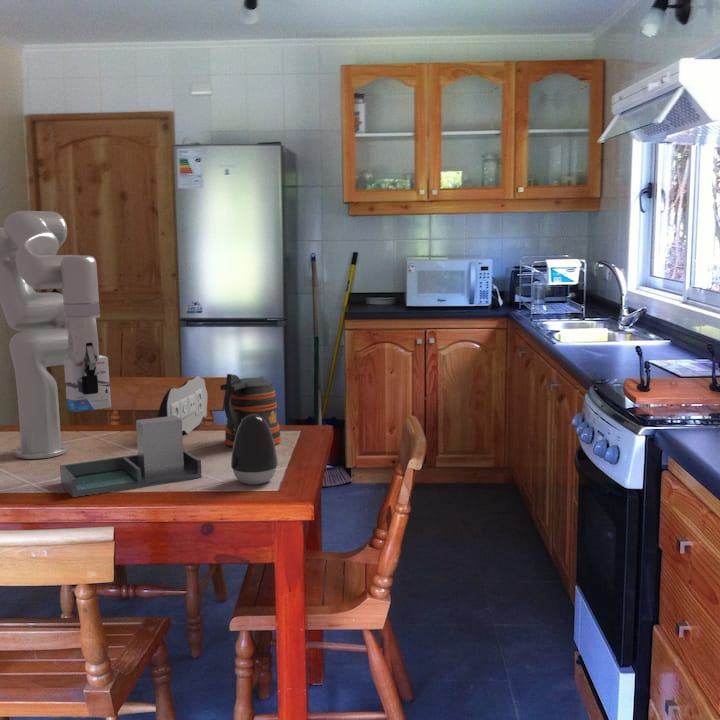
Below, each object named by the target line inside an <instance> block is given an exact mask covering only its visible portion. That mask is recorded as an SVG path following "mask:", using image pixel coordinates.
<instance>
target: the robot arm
mask: <svg viewBox="0 0 720 720" xmlns="http://www.w3.org/2000/svg"><path fill="white" fill-rule="evenodd" d="M67 237H68V226H67V223H66V220H65V218H64V217H63V216H62V215H61V214H59V213H58V212H56V211H47V210H46V211H45V210H19V211H15V212H12V213H10V214H9V215H8V216H7V217H6V218H5V219H4V223H3V227H0V305H1V308H2V311H3V315H4V317H5V320H6V323H7V324H8V326H9V327H10V328H11V329H12V330H15V331H19V332H17V333H15V334H14V335H13V336H12V337H11V339H10V340H9V352H10V353H9V354H10V356H11V357H10V358H11V360H12V364H13V369H14V374H15V375H14V376H15V383H16V384H15V385H16V392H17V405H18V406H17V407H18V409H17V410H18V419H19V433H20V434H19V436H20V446H21V447H19V448H17V449H16V450H14V456H15V457H16V458H18V459H26V460H37V459H38V460H39V459H48V458H54V457H57V456H62V455H64V454H66V453H67V452H68V451H69V449H68V447H69V446H68V445H67V444H66V443H62V437H61V436H62V435H61V420H60V418H61V417H60V410H59V409H60V407H59V393H58V392H59V391H58V384H57V381H56V379H55V377H53V375H52V374H51V373H50V372H49V371H48V370H47V368H48V367H53V366H64V359H66V358H72V359H74V360H75V363H77V364H79V363H80V361H82V370H83V377H82V387H83V394H85V395H86V394H96V393H98V380H97V370H96V362H97V361H98V360H99V355H100V346H99V337H98V334H99V333H98V329H97V328H98V326H97V319H98V318H101V315H100V314H101V312H100V297H99V294H100V293H99V284H98V283H99V282H98V267H97V266H98V265H97V261H96V259H95V257H94V256H91V255H84V254H83V255H82V254H81V255H79V254H65V255H64V254H59V255H58V254H57V253H58V251H59V249H60V248H61V247H62V245H64V242H65V241H66V239H67ZM12 261H14V262H15V264H14V263H12ZM34 289H35V290H52V289H53V290H54V289H55V290H56V289H62V290H61V291H62V293H59V292H50V291H49V292H37V291H35V290H34ZM95 357H96V358H97V359H95ZM84 360H88V362H84ZM86 366H87V367H86Z"/></svg>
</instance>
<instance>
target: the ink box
mask: <svg viewBox="0 0 720 720" xmlns="http://www.w3.org/2000/svg"><path fill="white" fill-rule="evenodd" d="M95 359H97V358H96V357H95ZM84 362H88V360H84ZM63 367H64V382H65V398H66V399H65V400H66V409H67V410H68V411H71V412H74V413H79V412H87V411H95V410H101V409H103V410H104V409H108V408H112V402H111V385H110V374H109V373H110V371H109V370H110V369H109V357H108V356H105V355H100V354H99V360H98V361H97V362H96V370H97V380H98V393H96V394H86V395H85V394H83V387H82V377H83V370H82V361H80V363H79V364H77V363H75V360H74V359H72V358H66V359H64V365H63ZM86 367H87V366H86Z"/></svg>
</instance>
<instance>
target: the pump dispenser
mask: <svg viewBox="0 0 720 720" xmlns="http://www.w3.org/2000/svg"><path fill="white" fill-rule="evenodd" d="M278 461H279V460H278V454H277V449H276V445H275V444H274V441H273V437H272V434H271V431H270V429H269V427H268V425H267V423H266V421H265V420H264V419H263V418H262V417H261V416H259V415H258V414H257V413H255V414H250V415H248V416H246V417H245V418H244V419H243V420H242V421H241V423H240V425H239V427H238V430H237V433H236V436H235V440H234V445H233V447H232V452H231V461H230V467H231V469H232V470H233V475H234V476H235V478H236V479H237V480H238V481H239V482H240V483H243V484H245V485H250V486H257V485H264V484H265V483H267V482H269V481H270V480H271V479H272V478H273V477H274V475H275V473H276V471H277V467H278V464H279V462H278Z"/></svg>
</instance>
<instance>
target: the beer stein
mask: <svg viewBox="0 0 720 720" xmlns="http://www.w3.org/2000/svg"><path fill="white" fill-rule="evenodd" d="M219 387H220V390H221V391H225V395H224V403H223V405H224V414H225V417H226V418H227V419H226V425H225V429H224V431H225V433H224V434H225V435H224V436H225V438H224V443H225V445H226V446H229V447H230V448H233V445H234V440H235V436H236V433H237V430H238V427H239V425H240V423H241V421H242V420H243V419H244V418H245V417H246V416H248V415H250V414H255V413H257V414H258V415H259V416H261V417H262V418H263V419H264V420H265V421H266V423H267V425H268V427H269V429H270V431H271V434H272V437H273V441H274V444H275V446H276V445H278V444H280V442H281V441H282V438H281V430H280V424H279V422H278V413H277V412H278V411H277V408H278V405H277V403H278V402H277V397H276V390H275V389H274V385H273V382H272V381H270V380H268V379H265V378H264V376H260V377H243V378H240V377H239V376H238V375H237V374H231V373H227V374H226V382H225V383H224V384H220V386H219Z"/></svg>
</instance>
